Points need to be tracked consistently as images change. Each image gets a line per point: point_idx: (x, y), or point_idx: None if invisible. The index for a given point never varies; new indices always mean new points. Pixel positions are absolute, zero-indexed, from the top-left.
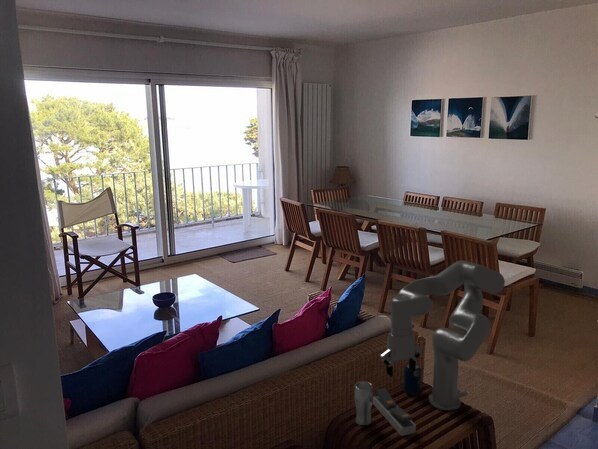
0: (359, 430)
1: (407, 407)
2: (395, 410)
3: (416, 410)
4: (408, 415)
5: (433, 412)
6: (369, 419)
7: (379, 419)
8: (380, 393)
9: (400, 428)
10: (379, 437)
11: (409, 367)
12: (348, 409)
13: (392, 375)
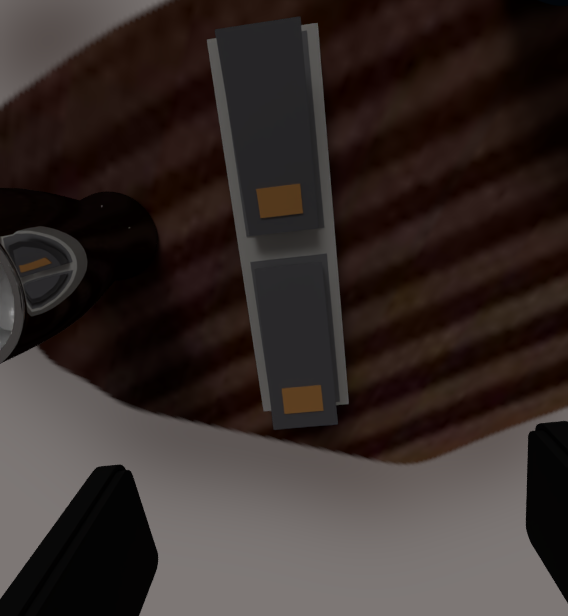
0: None
1: (417, 154)
2: (277, 305)
3: (453, 199)
4: (319, 407)
5: (536, 242)
6: (130, 273)
7: (206, 238)
8: (240, 88)
9: (262, 399)
10: (163, 377)
11: (538, 448)
12: (47, 90)
13: (146, 581)
